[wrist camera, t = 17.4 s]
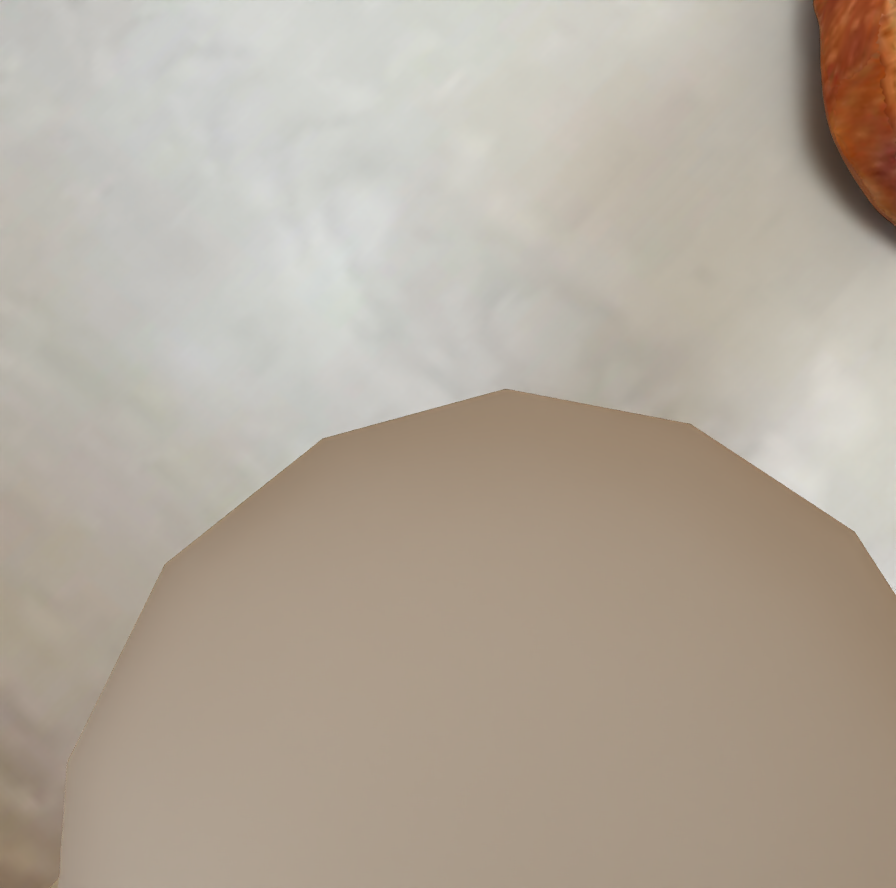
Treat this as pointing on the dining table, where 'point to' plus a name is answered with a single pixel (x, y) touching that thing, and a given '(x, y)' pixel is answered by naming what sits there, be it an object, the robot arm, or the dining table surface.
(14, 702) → the dining table surface
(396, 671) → the salt shaker
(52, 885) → the robot arm
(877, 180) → the bread slice
